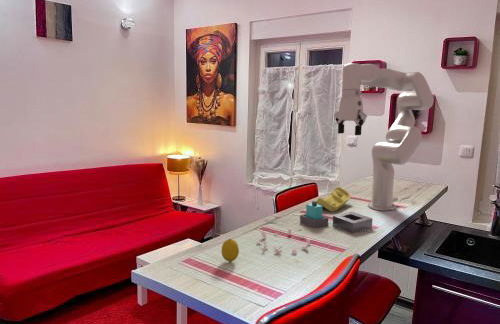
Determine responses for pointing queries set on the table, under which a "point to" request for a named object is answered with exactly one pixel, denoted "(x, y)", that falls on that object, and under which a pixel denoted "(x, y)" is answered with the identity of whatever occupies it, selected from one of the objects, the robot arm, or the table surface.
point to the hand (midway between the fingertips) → (349, 134)
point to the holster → (314, 221)
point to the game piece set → (281, 246)
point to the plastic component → (335, 199)
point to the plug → (314, 211)
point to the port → (352, 222)
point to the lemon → (230, 250)
